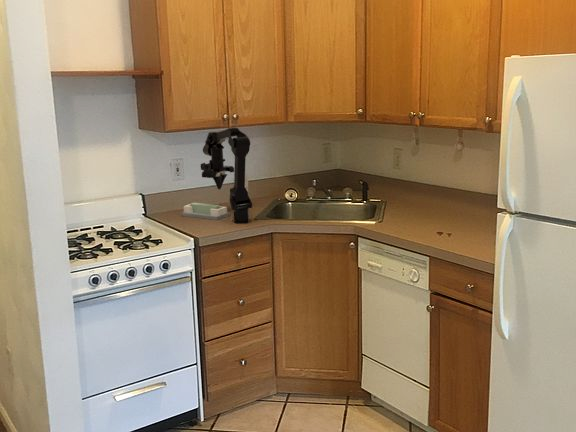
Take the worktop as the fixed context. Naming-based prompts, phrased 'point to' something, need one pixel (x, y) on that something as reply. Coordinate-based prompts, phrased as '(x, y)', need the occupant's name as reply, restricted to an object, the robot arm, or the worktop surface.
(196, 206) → the pale green bar
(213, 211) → the cradle
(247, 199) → the robot arm
